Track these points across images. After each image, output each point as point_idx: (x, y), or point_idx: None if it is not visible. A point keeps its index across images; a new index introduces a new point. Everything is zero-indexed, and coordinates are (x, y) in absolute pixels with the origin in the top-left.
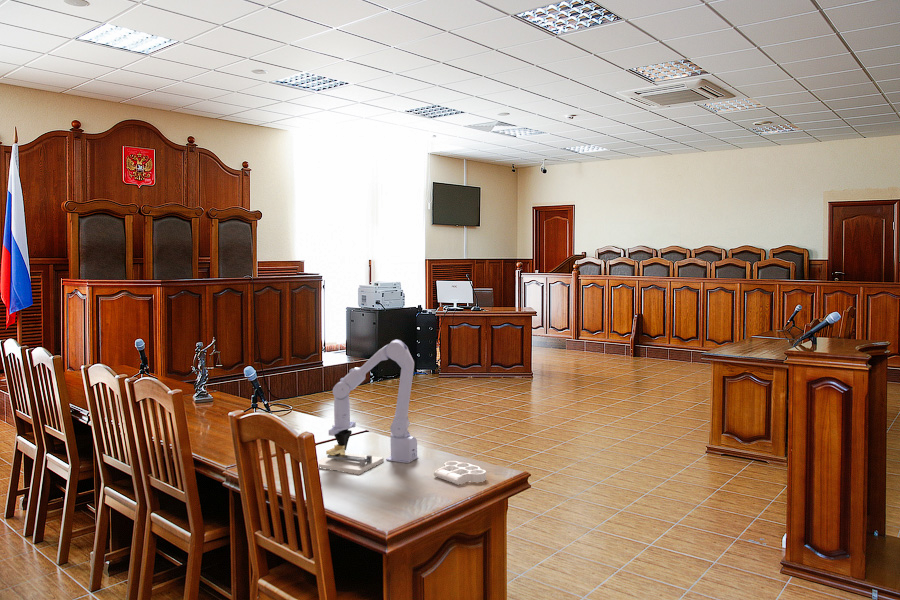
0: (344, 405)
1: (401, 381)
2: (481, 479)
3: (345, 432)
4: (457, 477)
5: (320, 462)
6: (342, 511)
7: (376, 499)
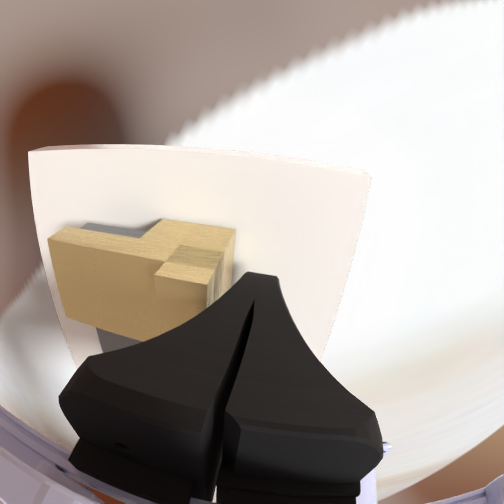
0: None
1: None
2: None
3: (216, 500)
4: None
5: (54, 192)
6: None
7: (37, 417)
